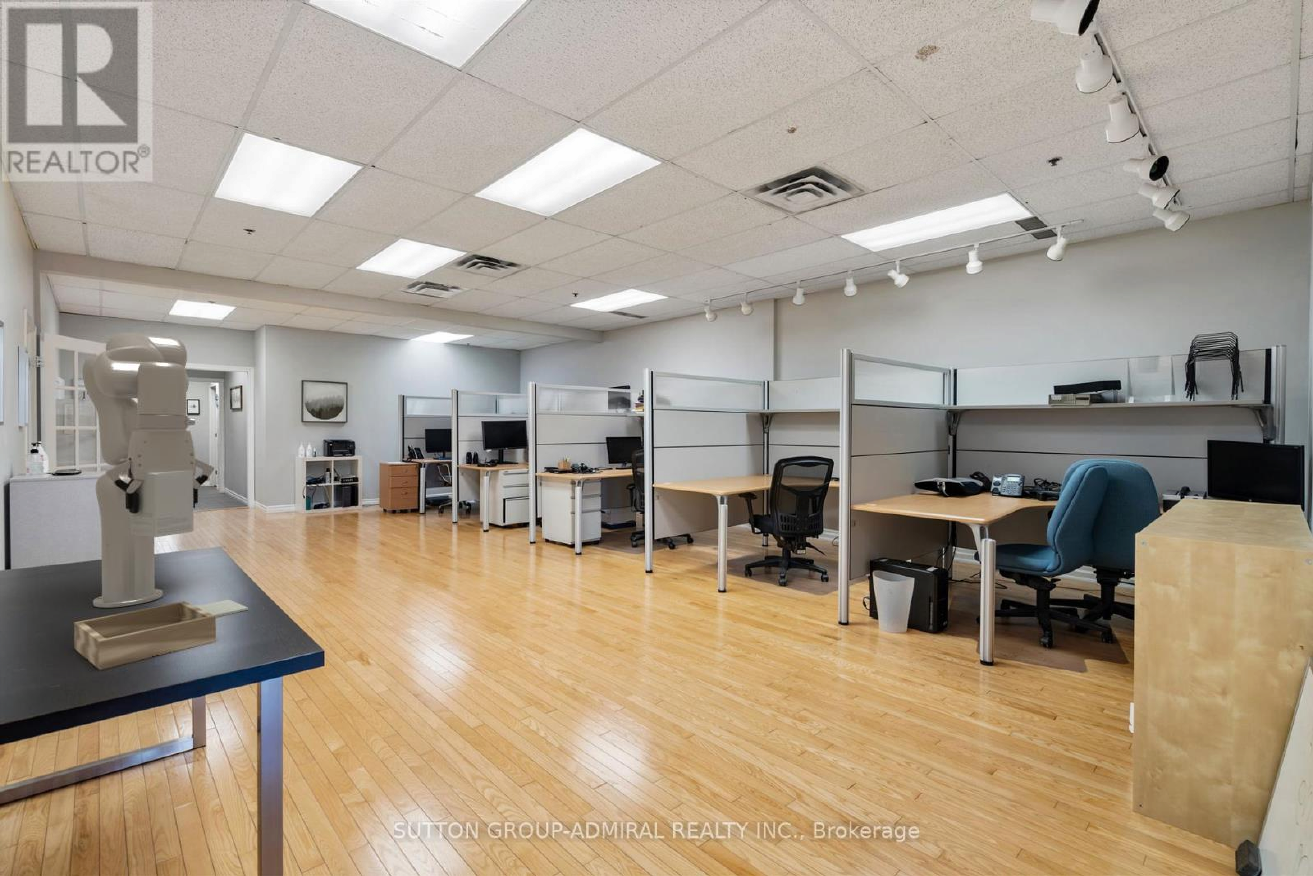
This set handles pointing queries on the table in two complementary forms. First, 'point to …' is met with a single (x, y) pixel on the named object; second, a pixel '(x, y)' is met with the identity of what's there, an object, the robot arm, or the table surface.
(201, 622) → the crate
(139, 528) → the supplement box
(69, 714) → the table surface
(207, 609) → the mat
